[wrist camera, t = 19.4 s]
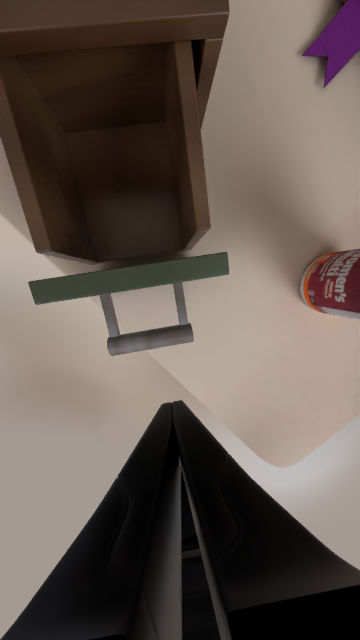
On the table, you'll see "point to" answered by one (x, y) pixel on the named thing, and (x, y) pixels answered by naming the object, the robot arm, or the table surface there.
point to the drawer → (111, 172)
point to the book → (338, 39)
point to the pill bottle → (333, 284)
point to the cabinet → (117, 29)
